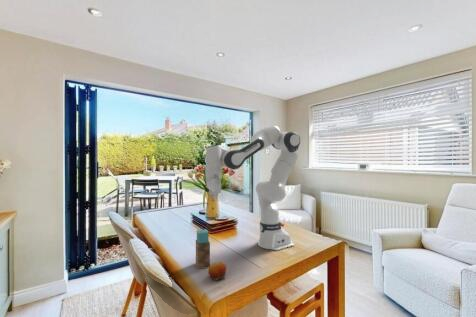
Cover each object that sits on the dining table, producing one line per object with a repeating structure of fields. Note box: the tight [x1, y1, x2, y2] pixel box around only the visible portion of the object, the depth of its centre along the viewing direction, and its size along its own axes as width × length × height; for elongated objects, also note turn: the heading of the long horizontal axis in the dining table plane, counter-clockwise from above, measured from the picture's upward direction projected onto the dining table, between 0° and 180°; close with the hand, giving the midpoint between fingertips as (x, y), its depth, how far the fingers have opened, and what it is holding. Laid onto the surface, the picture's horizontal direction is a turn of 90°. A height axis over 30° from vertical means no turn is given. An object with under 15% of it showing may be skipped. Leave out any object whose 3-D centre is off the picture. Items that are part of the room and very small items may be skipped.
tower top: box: [195, 239, 211, 256], centre depth 115 cm, size 6×6×6 cm
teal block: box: [196, 229, 210, 244], centre depth 115 cm, size 5×5×5 cm
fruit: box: [208, 261, 227, 282], centre depth 103 cm, size 8×8×8 cm
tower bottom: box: [195, 252, 211, 270], centre depth 115 cm, size 6×6×6 cm
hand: (213, 198), depth 127 cm, fingers open, 8 cm apart
